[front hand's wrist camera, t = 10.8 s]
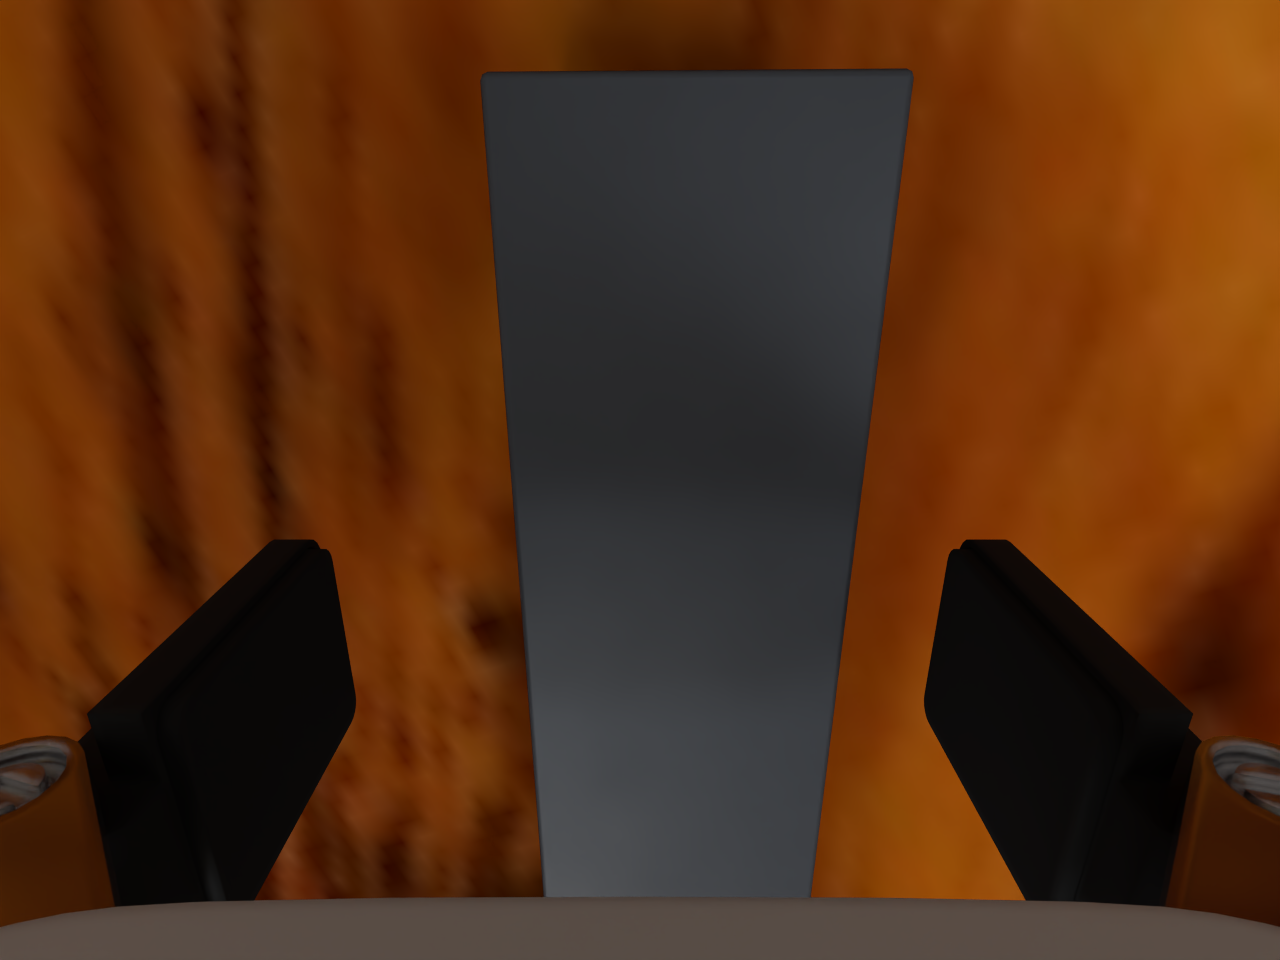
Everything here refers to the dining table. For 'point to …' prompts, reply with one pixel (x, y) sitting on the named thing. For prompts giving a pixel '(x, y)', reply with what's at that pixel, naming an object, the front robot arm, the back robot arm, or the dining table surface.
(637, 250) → the post
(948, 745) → the front robot arm
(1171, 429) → the dining table surface
